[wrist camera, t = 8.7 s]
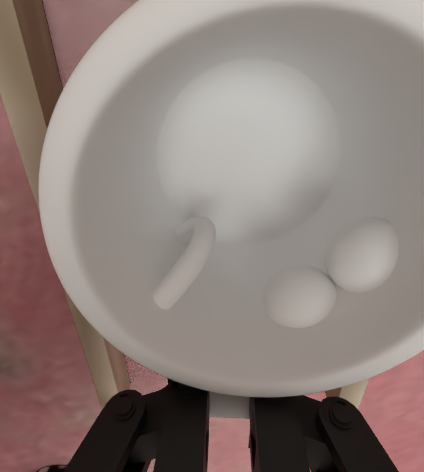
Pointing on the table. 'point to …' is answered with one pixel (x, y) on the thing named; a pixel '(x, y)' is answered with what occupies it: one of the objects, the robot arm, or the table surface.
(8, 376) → the table surface
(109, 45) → the mug
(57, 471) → the spotted tube
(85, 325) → the guide channel
